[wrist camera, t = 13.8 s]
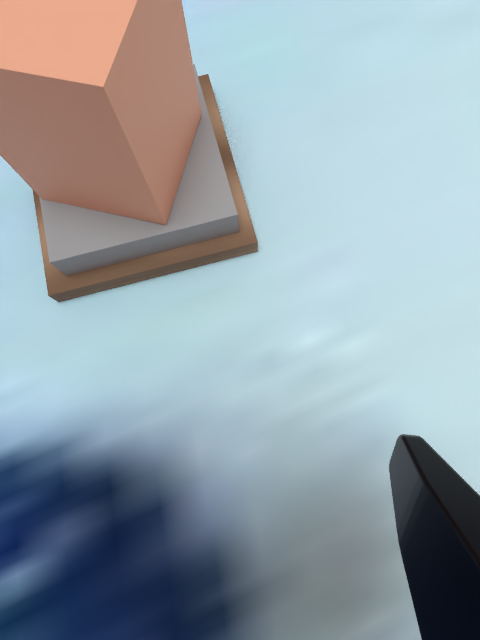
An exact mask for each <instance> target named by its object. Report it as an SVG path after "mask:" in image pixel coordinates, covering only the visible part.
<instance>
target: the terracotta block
mask: <svg viewBox="0 0 480 640" xmlns="http://www.w3.org/2000/svg"><path fill="white" fill-rule="evenodd" d="M201 115H202V113H201V107H200V102H199V96H198V90H197V85H196V79H195V74H194V68H193V63H192V57H191V51H190V46H189V40H188V35H187V29H186V23H185V18H184V12H183V7H182V1H181V0H0V155H1V156H2V157H3V158H4V159H5V160H6V162H7V163H8V164H9V165H10V166H11V167H12V168H13V169H14V170H15V171H16V172H17V173H18V174H19V175H20V176H21V177H22V178H23V180H24V181H25V182H26V183H27V184H28V185H29V186H30V187H31V188H32V189H33V190H34V191H35V192H36V193H37V194H38V195H39V196H40V197H41V199H45V200H50V201H54V202H59V203H64V204H68V205H73V206H78V207H83V208H87V209H92V210H97V211H101V212H106V213H111V214H116V215H120V216H125V217H130V218H134V219H139V220H144V221H149V222H153V223H158V224H163V225H166V224H167V221H168V218H169V214H170V211H171V208H172V205H173V202H174V199H175V196H176V193H177V190H178V186H179V183H180V180H181V177H182V174H183V171H184V168H185V165H186V161H187V158H188V155H189V152H190V149H191V146H192V143H193V140H194V136H195V133H196V130H197V127H198V124H199V121H200V118H201Z"/></svg>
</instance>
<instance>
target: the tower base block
mask: <svg viewBox="0 0 480 640" xmlns="http://www.w3.org/2000/svg"><path fill="white" fill-rule="evenodd" d="M198 79H199V82H200V86H201V89H202V93H203V96H204V100H205V103H206V106H207V110H208V113H209V117H210V120H211V124H212V127H213V131H214V134H215V138H216V141H217V144H218V148H219V151H220V155H221V158H222V162H223V165H224V169H225V172H226V175H227V179H228V182H229V186H230V189H231V193H232V196H233V200H234V203H235V207H236V210H237V213H238V223H239V232H237V233H233V234H229V235H225V236H221V237H217V238H213V239H210V240H206V241H202V242H198V243H194V244H190V245H186V246H182V247H178V248H174V249H171V250H167V251H163V252H159V253H155V254H151V255H147V256H143V257H139V258H135V259H132V260H128V261H124V262H120V263H116V264H112V265H108V266H104V267H100V268H96V269H93V270H89V271H85V272H81V273H77V274H73V275H69V276H66V275H65V274H63V273H62V272H61V271H60V270H58V269H57V268H56V267H55V266H53V265H52V264H51V263H50V262H49V256H48V249H47V243H46V236H45V230H44V223H43V217H42V211H41V204H40V198H39V195H38V194H37V193H36V192H35V191H34V190H33V195H34V202H35V208H36V215H37V222H38V229H39V235H40V242H41V249H42V256H43V262H44V269H45V276H46V283H47V289H48V296H50V297H51V298H53V299H55V300H56V301H58V302H61V301H65V300H69V299H73V298H77V297H81V296H85V295H89V294H93V293H96V292H100V291H104V290H108V289H112V288H116V287H120V286H124V285H128V284H132V283H136V282H140V281H143V280H147V279H151V278H155V277H159V276H163V275H167V274H171V273H175V272H179V271H183V270H187V269H191V268H194V267H198V266H202V265H206V264H210V263H214V262H218V261H222V260H226V259H230V258H234V257H238V256H242V255H245V254H249V253H253V252H257V243H258V242H257V239H256V235H255V232H254V229H253V225H252V222H251V218H250V215H249V212H248V208H247V205H246V202H245V198H244V195H243V191H242V188H241V185H240V181H239V178H238V174H237V171H236V168H235V164H234V161H233V157H232V154H231V151H230V147H229V144H228V140H227V137H226V134H225V130H224V127H223V123H222V120H221V117H220V113H219V110H218V106H217V103H216V100H215V96H214V93H213V89H212V86H211V83H210V79H209V76H208V74H207V75H203V76H199V77H198Z"/></svg>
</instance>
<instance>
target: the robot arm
mask: <svg viewBox="0 0 480 640" xmlns="http://www.w3.org/2000/svg"><path fill="white" fill-rule="evenodd" d="M389 472H390V480H391V488H392V496H393V503H394V511H395V519H396V527H397V534H398V541H399V546H400V551H401V555H402V560H403V564H404V568H405V572H406V576H407V580H408V584H409V588H410V592H411V597H412V601H413V605H414V609H415V613H416V617H417V621H418V625H419V630H420V634H421V638H422V640H480V495H479V494H478V493H477V492H476V491H475V490H474V489H473V488H472V487H471V486H470V485H469V484H468V483H467V482H466V481H465V480H464V479H463V478H462V477H461V476H460V475H459V474H458V473H457V472H456V471H455V470H454V469H453V468H452V467H451V466H450V465H449V464H448V463H447V462H446V461H445V460H444V459H443V458H442V457H441V456H440V455H439V454H438V453H437V452H436V451H435V450H434V449H433V448H432V447H431V446H430V445H429V444H428V443H427V442H426V441H425V440H424V439H423V438H421V437H420V436H415V435H405V434H402V435H400V436H399V437H398V439H397V441H396V444H395V447H394V450H393V453H392V456H391V459H390V464H389Z"/></svg>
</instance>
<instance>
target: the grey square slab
mask: <svg viewBox="0 0 480 640" xmlns="http://www.w3.org/2000/svg"><path fill="white" fill-rule="evenodd" d="M193 68H194V74H195V79H196V85H197V90H198V96H199V102H200V107H201V113H202V115H201V118H200V121H199V124H198V127H197V130H196V133H195V136H194V140H193V143H192V146H191V149H190V152H189V155H188V158H187V161H186V165H185V168H184V171H183V174H182V177H181V180H180V183H179V186H178V190H177V193H176V196H175V199H174V202H173V205H172V208H171V211H170V214H169V218H168V221H167V224H166V225H163V224H158V223H153V222H149V221H144V220H139V219H134V218H130V217H125V216H120V215H116V214H111V213H106V212H101V211H97V210H92V209H87V208H83V207H78V206H73V205H68V204H64V203H59V202H54V201H50V200H45V199H41V197H40V196H39V198H40V204H41V211H42V217H43V223H44V230H45V236H46V243H47V249H48V256H49V262H50V263H51V264H52V265H53V266H55V267H56V268H57V269H58V270H60V271H61V272H62V273H63V274H65V275H66V276H69V275H73V274H77V273H81V272H85V271H89V270H93V269H96V268H100V267H104V266H108V265H112V264H116V263H120V262H124V261H128V260H132V259H135V258H139V257H143V256H147V255H151V254H155V253H159V252H163V251H167V250H171V249H174V248H178V247H182V246H186V245H190V244H194V243H198V242H202V241H206V240H210V239H213V238H217V237H221V236H225V235H229V234H233V233H237V232H239V223H238V213H237V210H236V207H235V203H234V200H233V196H232V193H231V189H230V186H229V182H228V179H227V175H226V172H225V169H224V165H223V162H222V158H221V155H220V151H219V148H218V144H217V141H216V138H215V134H214V131H213V127H212V124H211V120H210V117H209V113H208V110H207V106H206V103H205V100H204V96H203V93H202V89H201V86H200V82H199V79H198V75H197V72H196V68H195V65H193Z"/></svg>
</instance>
